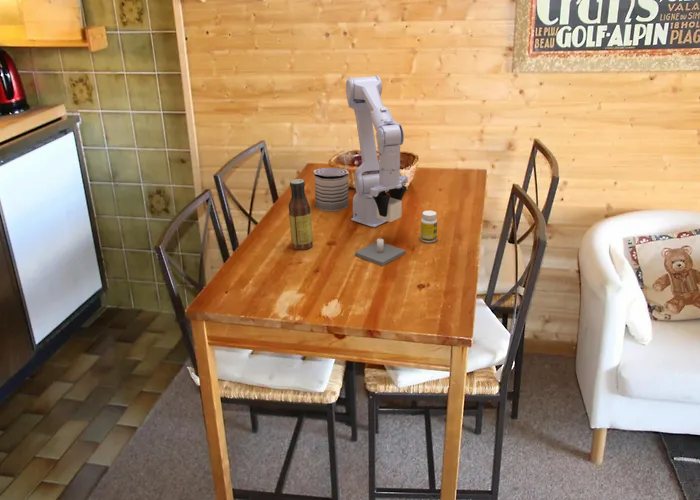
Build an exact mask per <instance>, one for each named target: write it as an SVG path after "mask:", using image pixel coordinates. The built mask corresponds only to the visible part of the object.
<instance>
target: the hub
mask: <svg viewBox="0 0 700 500" xmlns="http://www.w3.org/2000/svg"><path fill="white" fill-rule="evenodd" d="M402 207H403V205H402V200H398V199H394V198H391V197H390V200H389V203H388V210H387V216H386V217H384V216H380V214H379V211H378V207H377V218H379V219H382V220H385V221H387V222H389V223H391V222H394V221H396V220H398V219H400V218H402Z"/></svg>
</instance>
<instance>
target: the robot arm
mask: <svg viewBox="0 0 700 500" xmlns="http://www.w3.org/2000/svg"><path fill="white" fill-rule="evenodd" d="M382 82H383V81H382V79H381V78H380V76H379V75H372V76H360V77H348V78H347V79H346V83H345V92H346V93H345V94H346V100H347V101H346V102H347V104H348V108H350V109H352V110H353V111H354V115H355V121H356V129H357V134H358V135H357V136H358V142H359V149H360V150H359V151H360V156H361V164H360V165H359V166H358V167H356V169H355V172H354V188H355V191H356V192H355V194H354V196H353V199H352V218H350V219H351V221H353V222H355V223H359V224H362V225H366V226H368V227H371V228H376V227H378V226H380V225H382V224H385V223H387V222H388V221H385V220H382V219H379V218H377V207H378V211H379V214H380V216H384V217H386V216H387V210H388V203H389V200H390V197H391V198H394V199H398V200H401V201H402V200H403V197H404V195H405V193H406V192H407V190H408V188H407V185H404V184H408V177H409V176H407V175H404V174H401V175H400V173H401V169H400V168H401V145H403V143H404V141H405V137H404V135H405V133H404V130H403V125H402V124H401V123H398V121H397V122H396V121H395V119H394V117H393V115H392V113H391V111H390V109H389V108H388V107H386V106H384V104H383V100H382V97H381V95H382V93H383V83H382ZM374 129H375V131H376V133H375V131H374ZM375 136H376V138H375ZM375 139H376V140H375ZM376 143H377V145H376ZM377 151H378V153H379V156H378V154H377ZM378 157H379V158H378ZM388 192H389V194H388Z"/></svg>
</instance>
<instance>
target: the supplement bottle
mask: <svg viewBox="0 0 700 500" xmlns="http://www.w3.org/2000/svg"><path fill="white" fill-rule="evenodd" d="M421 217H422V218H421V219H420V236H419V237H420V238H419V239H420V241H422V242H423V243H434V242H436V241H437V238H438V219H437V212H436V211H433V210H423V212H422V216H421Z"/></svg>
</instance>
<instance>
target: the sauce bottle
mask: <svg viewBox="0 0 700 500" xmlns="http://www.w3.org/2000/svg"><path fill="white" fill-rule="evenodd" d="M305 185H306V184H305V180H304V179H303V178H293V179H292V180H290V181H289V187H290V191H291V192H290V193H291V197H290V200H289V202H288V217H289V218H288V219H289V228H290V229H289V230H290V241H291V244H292V245H291V246H292V247H293V248H294V249H296V250H301V251H302V250H303V251H304V250H308V249H310V248H312V247H313V245H314V243H313V241H314V233H313V223H312V212H311V210H312V209H311V206H310V203H309V202H308V199H307V196H306V193H305Z"/></svg>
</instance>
